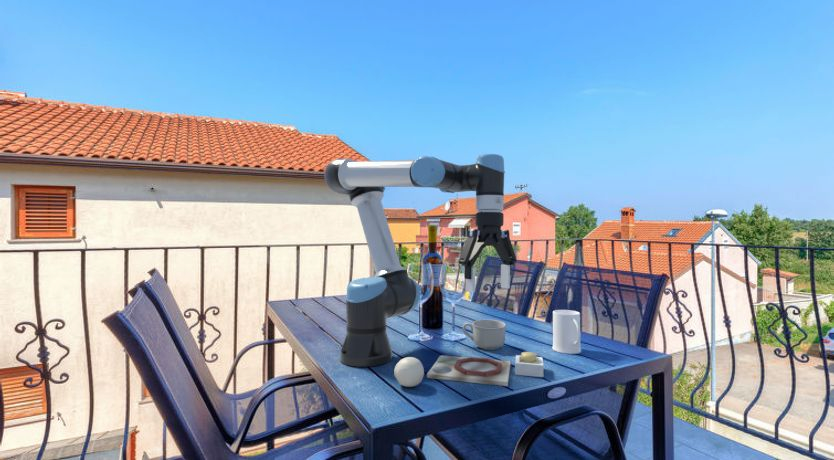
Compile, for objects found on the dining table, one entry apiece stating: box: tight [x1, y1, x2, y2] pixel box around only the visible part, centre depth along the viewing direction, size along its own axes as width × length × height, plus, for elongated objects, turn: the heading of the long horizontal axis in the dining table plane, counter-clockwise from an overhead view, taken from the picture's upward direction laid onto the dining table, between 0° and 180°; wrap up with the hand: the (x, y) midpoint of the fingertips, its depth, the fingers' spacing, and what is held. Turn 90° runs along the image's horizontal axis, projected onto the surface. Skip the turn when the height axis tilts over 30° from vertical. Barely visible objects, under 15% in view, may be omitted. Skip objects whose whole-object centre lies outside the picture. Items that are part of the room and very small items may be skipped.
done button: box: [520, 351, 538, 363], centre depth 102 cm, size 4×4×2 cm
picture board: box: [426, 355, 511, 387], centre depth 102 cm, size 20×16×2 cm
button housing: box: [514, 354, 544, 378], centre depth 102 cm, size 7×7×3 cm
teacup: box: [461, 318, 507, 351], centre depth 125 cm, size 14×11×8 cm
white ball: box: [393, 356, 425, 388], centre depth 93 cm, size 7×7×7 cm
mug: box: [552, 309, 582, 355], centre depth 120 cm, size 12×8×12 cm
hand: (488, 289), depth 105 cm, fingers open, 13 cm apart
